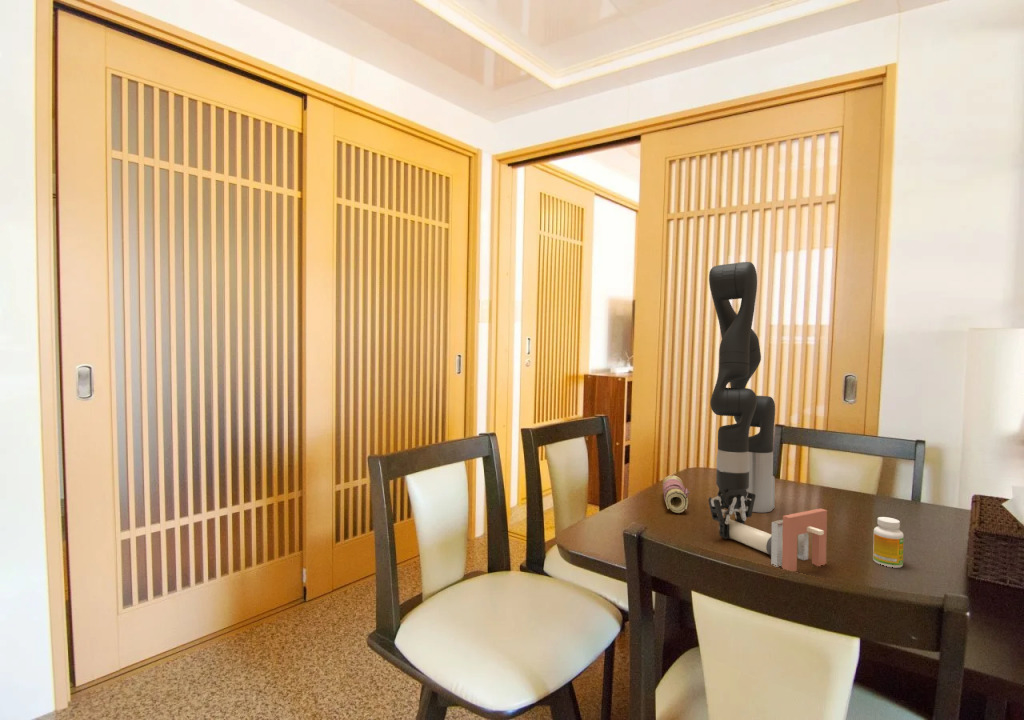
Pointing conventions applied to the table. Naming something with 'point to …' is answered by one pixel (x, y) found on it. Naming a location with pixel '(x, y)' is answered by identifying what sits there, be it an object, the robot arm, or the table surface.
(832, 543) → the table surface
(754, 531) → the white long cylinder
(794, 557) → the wall
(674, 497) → the scroll
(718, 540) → the table surface
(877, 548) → the supplement bottle
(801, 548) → the grey u-shaped panel
